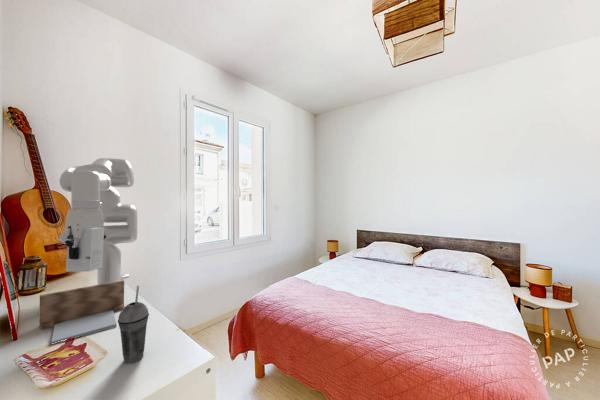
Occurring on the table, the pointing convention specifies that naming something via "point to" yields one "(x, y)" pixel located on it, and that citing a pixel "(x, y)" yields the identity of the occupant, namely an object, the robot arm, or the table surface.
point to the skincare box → (88, 251)
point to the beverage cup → (133, 330)
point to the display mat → (83, 326)
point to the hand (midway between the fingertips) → (85, 256)
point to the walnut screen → (80, 303)
